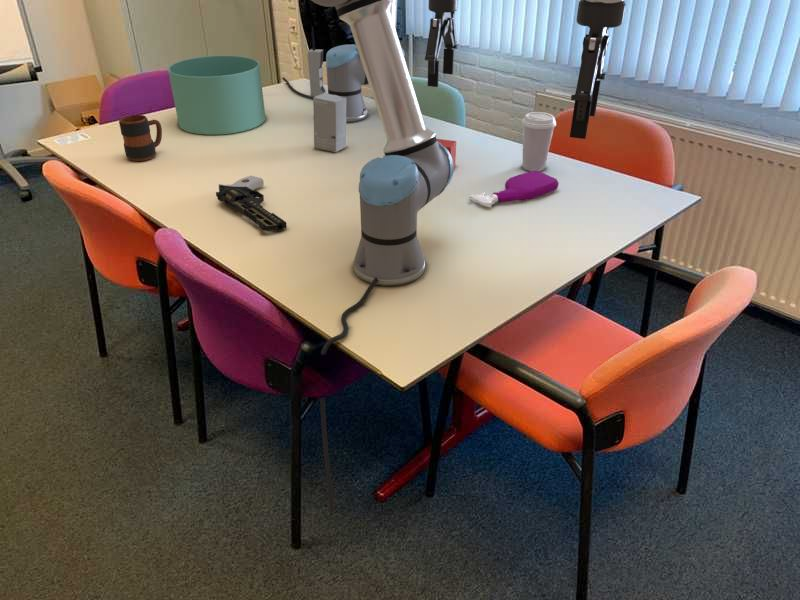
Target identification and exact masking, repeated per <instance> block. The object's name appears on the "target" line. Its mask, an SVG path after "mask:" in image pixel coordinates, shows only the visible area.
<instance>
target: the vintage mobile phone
mask: <svg viewBox="0 0 800 600" xmlns="http://www.w3.org/2000/svg"><path fill="white" fill-rule="evenodd" d="M311 39H312V40H311V41H312V42H311V43H312V48H310V49H309V50H307V62H308V75H309V89H310V96H312V97H315V96H318V95H321V94H324V93H326V94H327V91H326V89H325V86H324V78H323V77H324V76H323V64H324V49H316V44H315V43H316V42H315V31H314V26H311Z"/></svg>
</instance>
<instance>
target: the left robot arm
mask: <svg viewBox="0 0 800 600" xmlns="http://www.w3.org/2000/svg"><path fill="white" fill-rule="evenodd" d="M427 9H428V10H429V11H430V12H433V13H434V18H433V17H431V18H430V20H429V31H428V38H427V44H426V49H425V56H424V61H426V62H427V87H433V88H438V87H439V74H440V60H439V56H440V52H441V48H442V43H443V44H444V48H443V57H442V59H443V61H442V65H443V66H442V74H443V75H453V74H454V59H455V55H454V54H455V50H457V49H458V42H457V41H458V40H457V30H456V19H455V18H456V17H455V16H456V12H457V11H458V9H459V0H428V8H427ZM390 12H391V15H392V19H393V22H394V25H395V28H396V29H397V18H398V0H394V1H393V3H392V6H391V9H390ZM401 48H402V52H403V55H404V58H405V57H406V54H405V50H404V48H403V47H402V46H401ZM405 59H406V58H405ZM325 67H326V81H327V83H326V84H327V94H331V95H337V96H341V97H346V123H356V122H360V121H363V120H365V119H367V117H368V108H367V106H366V105H367V104H366V103H365V100H364V97H363V94H362V93H363V92H362V86H366V85H369V83H368V80H367V77H366V74H365V71H364V68H363V65H362V62H361V59H360V56H359V53H358V49H357V46H356V43H354V44H353V43H352V44H341V45H337V46H334V47H332V48H330V49H329V50H328V51H327V52H326V55H325ZM282 80H283V81H284V82H285V84H287V86H288V88H289V89H290V90H291V91H292V92H294V93H295V94H297V95H298V96H301V97H303V98H307V99H310V100H313V97H314V96H311V95H308V94H305V93H302V92H300V91H299V90H296V89H295V88H294V87H293V85H291V83H290V82H289V80H287V79H286V78H285V77H284V76H282Z"/></svg>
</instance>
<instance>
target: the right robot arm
mask: <svg viewBox="0 0 800 600" xmlns="http://www.w3.org/2000/svg"><path fill="white" fill-rule="evenodd" d="M311 1H312V2H313V3H314V4H317V5H318V6H321V7H326V8H327V7H328V8H329V7H331V8H333V7H335V10H336V14H337V16H338V18H339V20H341V21H343V22H344V23H346V24H347V25H349V28H350V31H351V34H352V37H353V40H354V44H355V45H356V46H357V49H358V53H359V56H360V59H361V62H362V65H363V68H364V71H365V74H366V77H367V80H368V83H369V84H368V87H369V88H370V92H371V95H372V99H373V100H374V105H375V107H376V110H377V113H378V116H379V119H380V122H381V126H382V128H383V131H384V134H385V137H386V143H385V145H384V148H383V150H382V151H383V153H384V155H383V156H382V157H379V156H378V157H376V158H373V159H371V160H369V161H367V162H366V163H365V164H364V166H363V167H362V168H361V169H360V172H359V182H358V193H359V206H360V207H359V209H360V211H359V212H360V239H359V242H358V247H357V249H356V252H355V256H354V259H353V270H354V273H355V275H356V276H357V277H358V278H359V279H360V280H362V281H364V282H366V283H369V285H368V287H367V289H366V290H365V292H364V294H363V295H362V296H361V298H360V299H359V300H358V301H357V302H356V303H354V304H353V305H351V306H350V307H348V308H347V309H346V310H344V311H343V312H342V314H341V318H340V321H341V324H342V328H343V330H342V332H340V333H339V334H336V335H335V336H332V337H331V338H329V339H328V340H327V341H326V342H325V343H324V345H323V346H322V349H321V351H320V355H321V356H324V355H326V354H327V353H328V352H327V351H328V350H329V348H330V346H331V345H332V344H334V343H336V342H338V341H340V340H342V339H343V338H345V337H346V336H347V335H348V333H349V324H348V321H347V317H348V315H350V314H351V313H352V312H354V311H355V310H357V309H358V308H360V307H361V306H362V305H363V304H364V303H365V302H366V300H367V299H368V297H369V295H370V294H371V292H372V290H373V289H374V287H375V286H382V287H395V286H402V285H406V284H410V283H413V282H415V281H417V280H418V279H420V278H421V276H423V274H424V273H425V270H426V261H425V255H424V252H423V250H422V247H421V244H420V241H419V238H418V212H419V211H421V210H422V209H423V208H424V207H425V206H426V205H427V204H429V203H430V202H432V200H434V199H435V198H437V197H438V196H440V195H441V194H442V193H443V192H444V191H445V189H446V188H447V187H448V186H449V184H450V183H451V181H452V179H453V175H454V168H453V160H452V157H451V155H450V153H449V151H448V150H447V148H446V147H444V146H442V145H441V143H439V142H437V139H438V138H437V136H436V133H435V131H432V130H431V129H429V128H428V127H427V126H426V124H425V121H424V117H423V114H422V111H421V108H420V104H419V100H418V98H417V96H416V95H417V94H416V91H415V89H414V84H413V81H412V79H411V74H410V72H409V68H408V65H407V62H406V58H404V55H403V52H402V48H403V47H402V45H401V42H400V39H399V38H400V37H399V35H398V32H397V27H396V28H395V25H394V22H393V19H392V15H391V12H390V9H391V6H392V3H393V1H394V0H311ZM626 5H627V4H626V2H625V0H579V1H578V6H577V13H576V23H577V25H580V26H582V27H588V28H589V31H588V34H587V33H586V34H585V36H584V37H583V41H582V52H581V57H580V68H579V74H578V78H577V82H576V88H575V93H574V94H571V96H570V101H574V106H573V112H572V119H571V125H570V132H569V138H571V139H572V138H573V139H581V140H586V139H587V133H588V127H589V120H590V117H596V111H597V106H598V100H599V94H600V88H601V80H603V81H605V80H606V79H605V78H606V73H603V72H604V63H605V56H606V54H607V50H608V46H609V43H610V42H609V41H610V35H608V32H609V30H610V29H612V28H613V29H614V28H617V27H620V26H621V25H622V24H623V23H624V16H625V12H626V11H625V10H626ZM401 47H402V48H401ZM319 399H320V400H319V401H320V423H321V436H322V447H323V448H322V449H323V456H324V465H325V475H326V484H327V485H326V486H327V495H328V507H329V512H330V513H334V511H335V508H334V507H335V506H334V494H333V483H332V474H331V464H330V454H329V453H330V452H329V444H328V443H329V442H328V431H327V417H326V415H327V413H326V398H323V397H320V398H319Z"/></svg>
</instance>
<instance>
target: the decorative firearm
mask: <svg viewBox="0 0 800 600" xmlns="http://www.w3.org/2000/svg"><path fill="white" fill-rule="evenodd" d="M264 185H265V184H264V179H263V178H262V177H259V176H255V175H249V176H245V177H243V178H240V179H238V180H236V181H235V182H233V183H232V184H221V183H219V184H218V191H215V197H217V200H218V201H219V202H221V203H224V204H226V205H227V206H228V207H230V208H232V209H233V210H236V211H238V212H239V213H240V214H242V215H243V216H245V217H246V218H248V219H249V220H250V221H251V222H253V223H254V224H256V225H257V226H258V228H259V229H260V230H262V231H265V232H272V231H273V232H274V231H277V232H281V231H284V230H285V229H287V221H286V220H284V219H282V218H281V217H280V216H278V215H277V214H275V213H274V212H270V211H268V210H267V209H265V208H264V206H263V205H261V204H262V203H263V202H265V201H264V200H265V196H264V194H263V193H261V192H260V191H258V190H256V189H260V188H263V187H264Z"/></svg>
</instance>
